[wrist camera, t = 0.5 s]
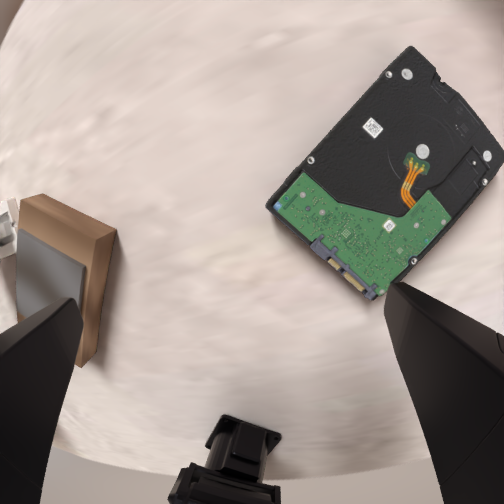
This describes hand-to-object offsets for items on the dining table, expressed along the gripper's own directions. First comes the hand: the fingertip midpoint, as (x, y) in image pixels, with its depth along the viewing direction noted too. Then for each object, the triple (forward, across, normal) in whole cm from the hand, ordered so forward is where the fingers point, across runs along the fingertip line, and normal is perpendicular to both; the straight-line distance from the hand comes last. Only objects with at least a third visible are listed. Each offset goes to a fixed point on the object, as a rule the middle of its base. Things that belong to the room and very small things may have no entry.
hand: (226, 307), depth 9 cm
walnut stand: (+17, +17, +8) cm, 25 cm away
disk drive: (+14, -11, 0) cm, 17 cm away
